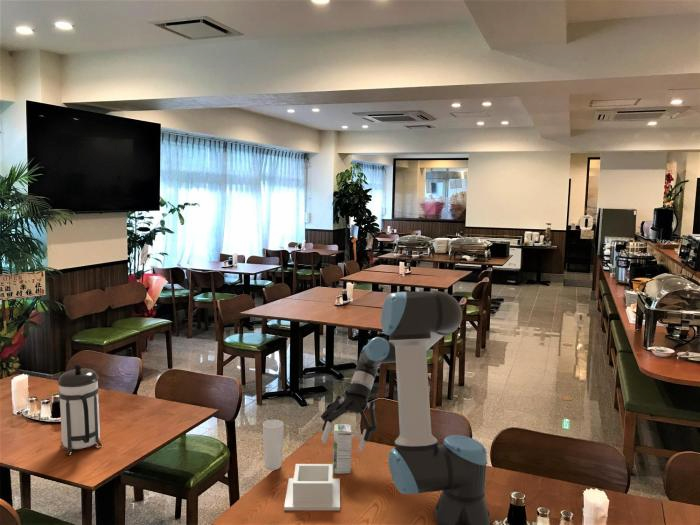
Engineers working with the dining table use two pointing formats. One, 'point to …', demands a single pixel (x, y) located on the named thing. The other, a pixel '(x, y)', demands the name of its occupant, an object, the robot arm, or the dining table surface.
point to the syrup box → (342, 449)
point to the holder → (313, 488)
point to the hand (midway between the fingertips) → (341, 445)
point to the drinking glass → (273, 443)
